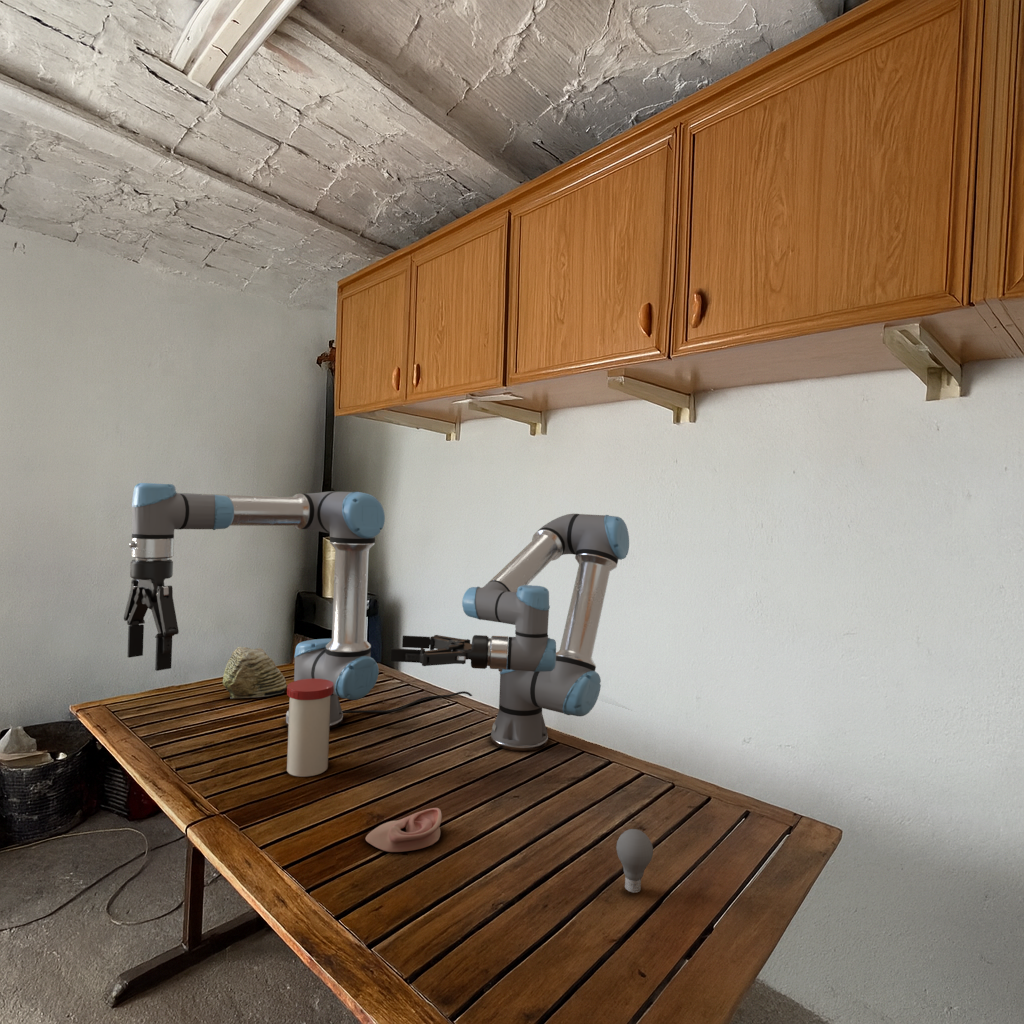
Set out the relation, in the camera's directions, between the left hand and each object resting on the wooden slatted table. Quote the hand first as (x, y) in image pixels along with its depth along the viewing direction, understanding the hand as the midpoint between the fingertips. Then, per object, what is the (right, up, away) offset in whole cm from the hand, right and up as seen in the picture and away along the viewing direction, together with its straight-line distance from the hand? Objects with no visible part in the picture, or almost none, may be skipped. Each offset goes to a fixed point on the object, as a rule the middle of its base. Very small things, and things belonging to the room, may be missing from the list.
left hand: (148, 662), depth 129 cm
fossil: (-6, -27, +69) cm, 74 cm away
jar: (+27, -29, +18) cm, 43 cm away
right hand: (+48, -1, +17) cm, 51 cm away
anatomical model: (+54, -31, -10) cm, 63 cm away
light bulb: (+94, -33, -24) cm, 103 cm away
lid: (+27, -10, +18) cm, 34 cm away
